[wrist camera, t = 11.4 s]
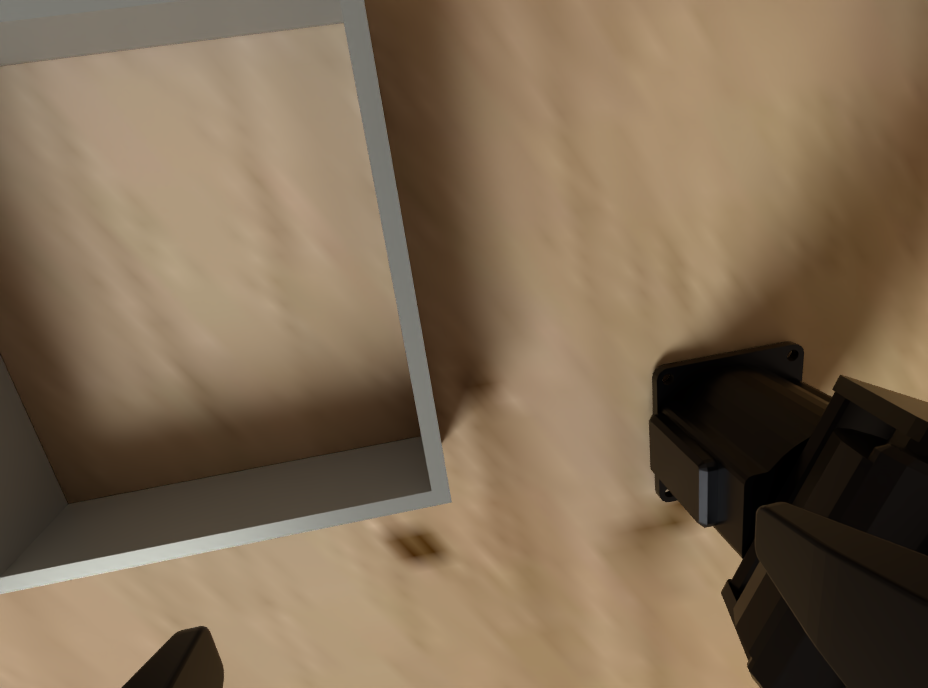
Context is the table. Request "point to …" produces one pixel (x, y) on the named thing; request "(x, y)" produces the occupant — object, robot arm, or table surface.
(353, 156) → the table surface
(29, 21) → the tub
